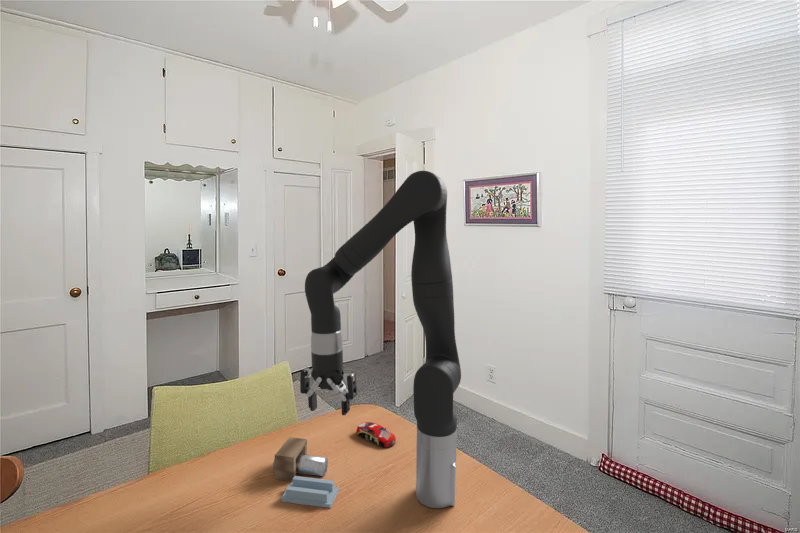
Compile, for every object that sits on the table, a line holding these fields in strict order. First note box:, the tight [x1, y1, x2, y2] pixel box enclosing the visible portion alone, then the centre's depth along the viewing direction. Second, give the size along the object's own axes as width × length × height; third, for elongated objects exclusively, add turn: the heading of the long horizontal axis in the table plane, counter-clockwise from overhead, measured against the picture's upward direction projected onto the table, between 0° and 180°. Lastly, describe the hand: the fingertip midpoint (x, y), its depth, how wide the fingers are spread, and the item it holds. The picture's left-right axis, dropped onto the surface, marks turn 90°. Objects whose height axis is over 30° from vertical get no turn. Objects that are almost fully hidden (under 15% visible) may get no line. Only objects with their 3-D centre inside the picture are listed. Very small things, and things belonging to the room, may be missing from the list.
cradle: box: [280, 475, 340, 509], centre depth 97 cm, size 12×6×3 cm, turn 80°
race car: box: [356, 421, 397, 449], centre depth 122 cm, size 13×5×4 cm, turn 52°
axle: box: [273, 454, 329, 477], centre depth 106 cm, size 13×4×4 cm, turn 80°
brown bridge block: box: [274, 436, 308, 482], centre depth 106 cm, size 5×8×6 cm, turn 170°
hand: (329, 411), depth 102 cm, fingers open, 8 cm apart
